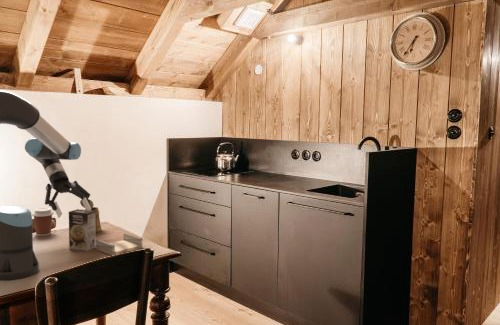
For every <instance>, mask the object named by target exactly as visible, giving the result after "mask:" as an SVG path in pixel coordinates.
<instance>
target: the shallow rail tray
mask: <svg viewBox="0 0 500 325" xmlns="http://www.w3.org/2000/svg"><path fill="white" fill-rule="evenodd" d="M142 248H143V237H140V236H137V235H133V234H130V233H127V232H125V233H123V240H118V241H115V242H114V241H113V242H110V243H109V242H107V241H104V240H101V239H96V247H95V250H97V251H99V252H102V253H104V254H107V255H109V256H112V255H113V256H115V255H114V254H117V255H120V254H119V253H121V254H123V252H124V253H127V252H132V251H134V250H135V251H136V250H139V249H142Z"/></svg>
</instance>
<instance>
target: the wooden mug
mask: <svg viewBox="0 0 500 325" xmlns="http://www.w3.org/2000/svg"><path fill="white" fill-rule="evenodd" d="M88 200H89V202H90V204H89V205H90V207H91V211H96V233H99V232H101V231H102V226H101V219H100V210H99V207H97V206H94V202H93V201H92V200H91V199H89V198H88ZM79 204H80V205H81V207H82V208H83V209H84V208H85V206H84V204H83V202H82V199H81V200H80V201H79ZM84 210H86V208H85V209H84Z"/></svg>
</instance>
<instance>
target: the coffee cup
mask: <svg viewBox="0 0 500 325" xmlns="http://www.w3.org/2000/svg"><path fill="white" fill-rule="evenodd" d="M54 212H55V211H53V210H52V207H39V208H35V209H34V211H33V212H32V213H31V214H32V217H33V218H34V221H33V222H34V227H35V236H37V237H45V236H49V235H52V224H53V222H52V221H53V220H52V219H53V215H54Z"/></svg>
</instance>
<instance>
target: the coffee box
mask: <svg viewBox="0 0 500 325" xmlns="http://www.w3.org/2000/svg"><path fill="white" fill-rule="evenodd" d="M96 233H97V232H96V211H91V210H85V209H73V210H70V211H68V239H69V240H68V245H69V246H68V249H69V250H74V251H75V250H77V251H86V252H89V251H90V250H92V249H94V248H95V249H96V240H97V239H96V235H97V234H96Z"/></svg>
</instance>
